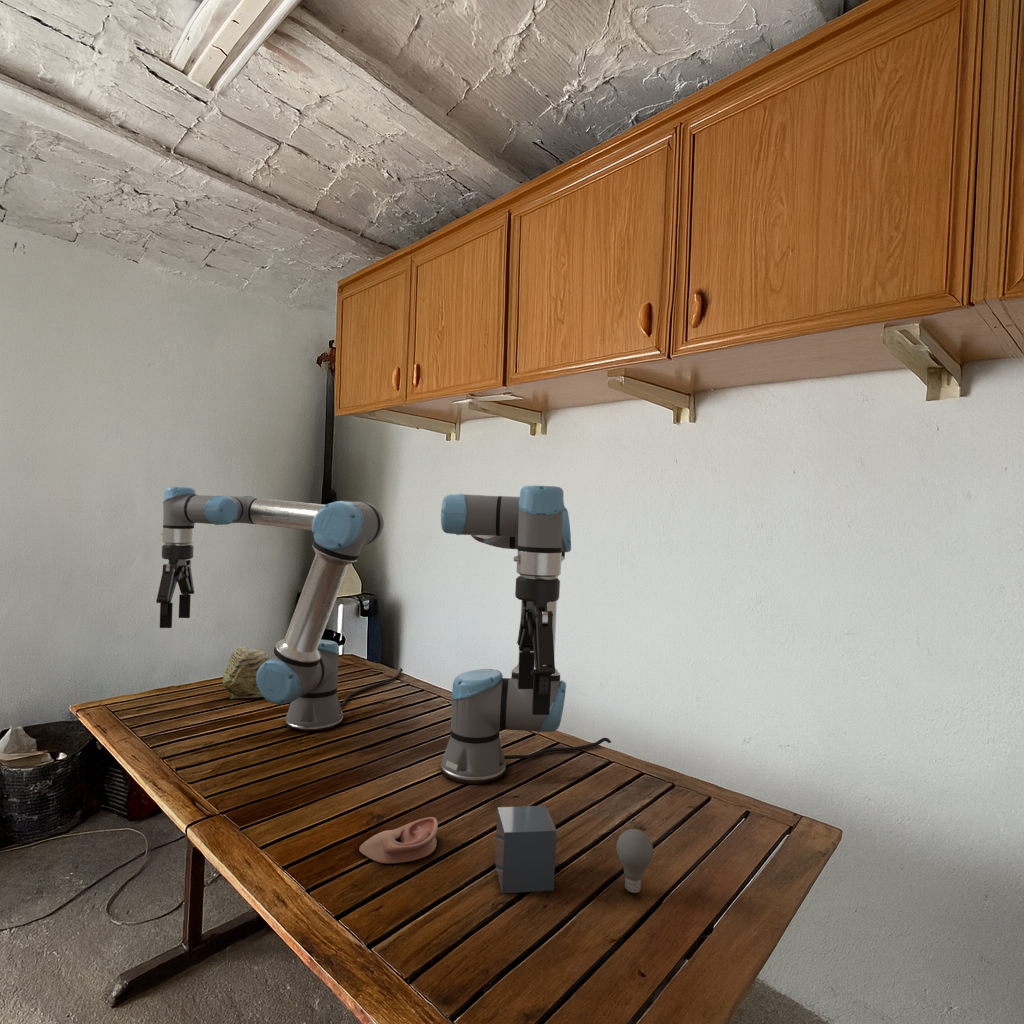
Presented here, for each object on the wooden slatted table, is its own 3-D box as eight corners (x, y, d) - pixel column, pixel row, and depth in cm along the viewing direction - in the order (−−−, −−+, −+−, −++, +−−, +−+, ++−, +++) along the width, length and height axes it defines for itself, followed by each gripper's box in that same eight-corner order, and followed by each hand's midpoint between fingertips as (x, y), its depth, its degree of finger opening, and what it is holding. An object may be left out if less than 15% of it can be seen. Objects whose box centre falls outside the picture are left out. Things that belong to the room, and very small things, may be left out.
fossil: (218, 695, 195) (220, 647, 195) (278, 685, 208) (279, 640, 207) (228, 703, 189) (230, 653, 188) (289, 692, 201) (290, 645, 201)
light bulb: (610, 879, 108) (613, 822, 108) (644, 879, 109) (647, 822, 109) (619, 902, 102) (622, 840, 102) (655, 901, 103) (658, 840, 103)
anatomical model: (352, 836, 111) (378, 805, 123) (351, 858, 111) (377, 826, 123) (423, 847, 109) (444, 815, 120) (422, 870, 109) (443, 836, 120)
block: (494, 863, 112) (497, 807, 112) (543, 861, 113) (545, 805, 113) (501, 893, 104) (504, 832, 103) (553, 890, 105) (556, 830, 105)
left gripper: (179, 540, 182) (177, 613, 182) (143, 547, 157) (140, 632, 158) (207, 541, 183) (204, 614, 184) (176, 548, 159) (173, 632, 159)
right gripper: (505, 567, 119) (500, 679, 120) (530, 586, 95) (523, 727, 95) (544, 568, 120) (539, 679, 121) (578, 587, 96) (572, 726, 96)
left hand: (175, 622), depth 171 cm, fingers open, 13 cm apart
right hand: (532, 700), depth 108 cm, fingers open, 13 cm apart
